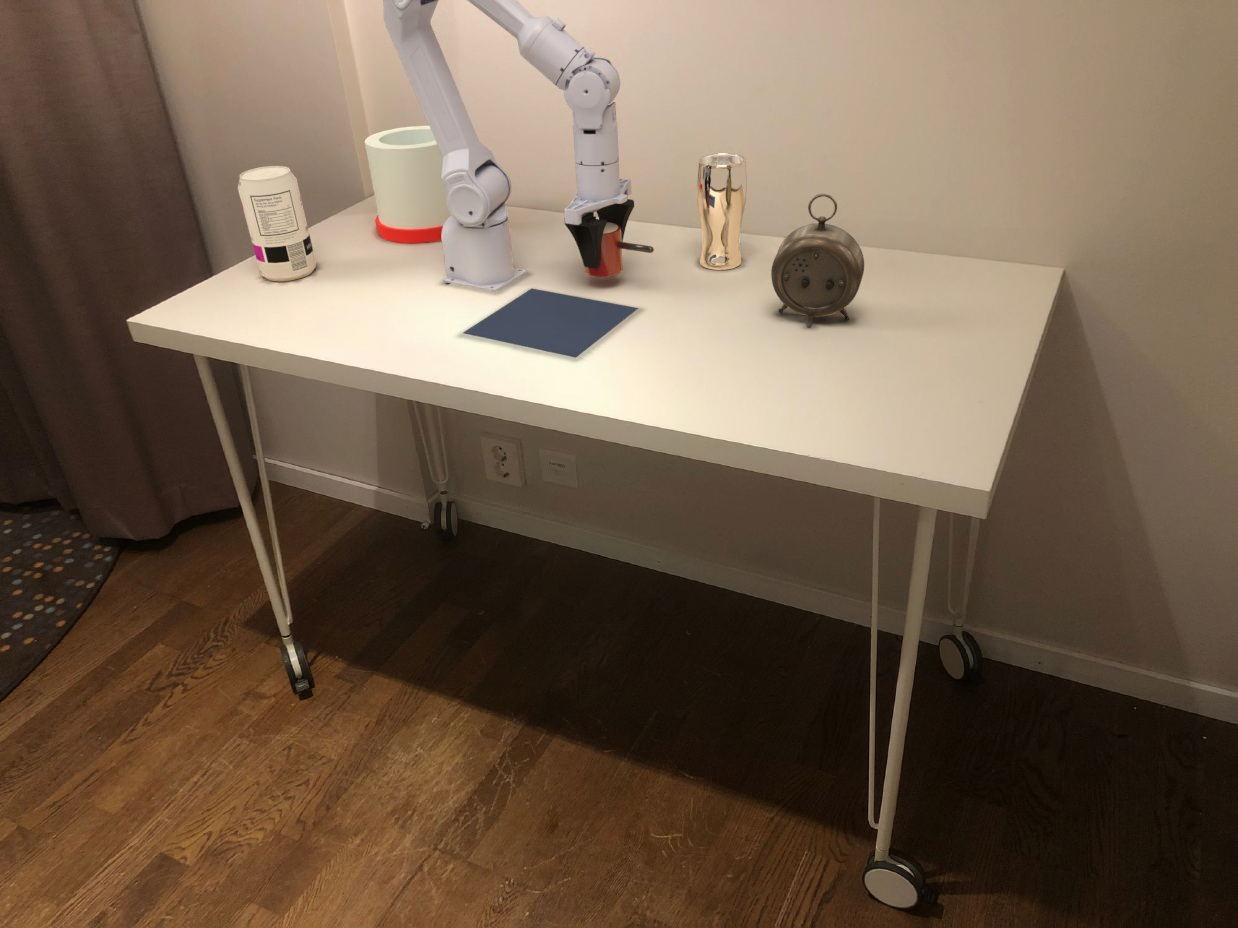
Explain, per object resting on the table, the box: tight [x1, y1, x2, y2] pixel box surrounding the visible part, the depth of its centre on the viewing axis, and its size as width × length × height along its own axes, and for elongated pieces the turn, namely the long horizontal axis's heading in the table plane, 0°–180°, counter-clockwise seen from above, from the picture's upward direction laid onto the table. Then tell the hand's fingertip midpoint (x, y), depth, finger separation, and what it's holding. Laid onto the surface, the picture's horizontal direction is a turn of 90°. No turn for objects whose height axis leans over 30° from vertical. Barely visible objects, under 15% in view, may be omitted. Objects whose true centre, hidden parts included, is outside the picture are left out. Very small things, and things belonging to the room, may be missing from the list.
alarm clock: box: [770, 193, 865, 328], centre depth 114 cm, size 11×5×16 cm, turn 71°
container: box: [364, 125, 452, 244], centre depth 152 cm, size 16×16×15 cm
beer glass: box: [696, 152, 748, 271], centre depth 133 cm, size 7×7×15 cm
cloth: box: [462, 288, 639, 359], centre depth 122 cm, size 17×16×1 cm
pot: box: [583, 222, 655, 278], centre depth 127 cm, size 11×5×6 cm, turn 61°
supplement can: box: [237, 165, 317, 282], centre depth 137 cm, size 8×8×15 cm
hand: (602, 259), depth 129 cm, fingers closed on pot, 5 cm apart
